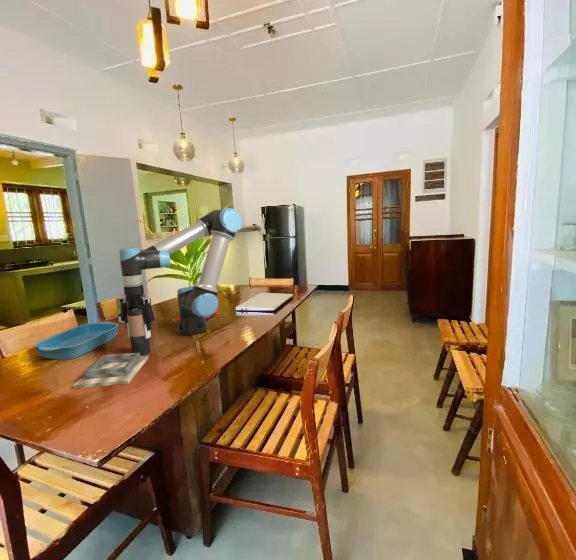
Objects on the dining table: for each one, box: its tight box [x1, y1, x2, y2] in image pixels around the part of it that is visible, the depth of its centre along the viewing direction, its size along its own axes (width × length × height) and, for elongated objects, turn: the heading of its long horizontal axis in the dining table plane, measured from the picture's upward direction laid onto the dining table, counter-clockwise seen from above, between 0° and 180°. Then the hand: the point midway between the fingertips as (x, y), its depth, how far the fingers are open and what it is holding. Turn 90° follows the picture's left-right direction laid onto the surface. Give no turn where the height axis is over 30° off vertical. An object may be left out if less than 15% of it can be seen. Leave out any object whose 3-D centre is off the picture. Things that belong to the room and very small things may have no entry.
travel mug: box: [127, 307, 151, 356], centre depth 139 cm, size 8×8×20 cm
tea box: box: [115, 294, 128, 323], centre depth 195 cm, size 15×10×15 cm, turn 6°
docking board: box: [73, 352, 149, 389], centre depth 122 cm, size 18×22×4 cm
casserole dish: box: [34, 321, 119, 360], centre depth 150 cm, size 37×22×7 cm, turn 171°
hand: (139, 337), depth 139 cm, fingers closed on travel mug, 8 cm apart
